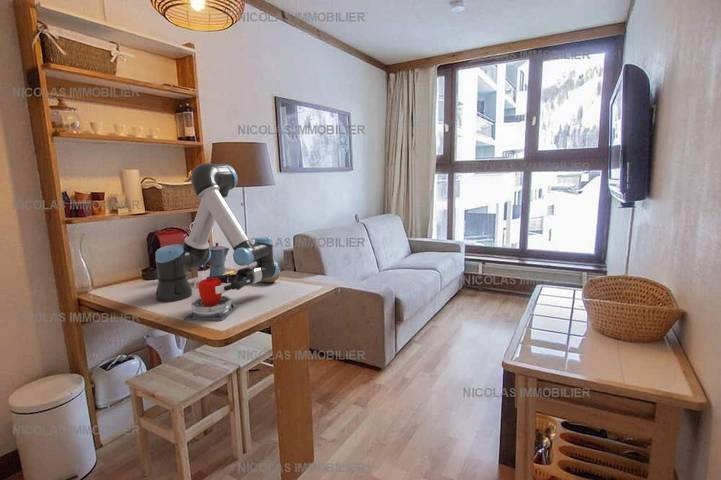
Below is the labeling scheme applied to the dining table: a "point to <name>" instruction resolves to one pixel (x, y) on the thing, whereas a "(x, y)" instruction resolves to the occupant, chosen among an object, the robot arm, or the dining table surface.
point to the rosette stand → (212, 310)
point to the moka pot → (217, 260)
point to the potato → (272, 278)
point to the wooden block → (192, 273)
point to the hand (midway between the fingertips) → (205, 288)
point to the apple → (209, 291)
